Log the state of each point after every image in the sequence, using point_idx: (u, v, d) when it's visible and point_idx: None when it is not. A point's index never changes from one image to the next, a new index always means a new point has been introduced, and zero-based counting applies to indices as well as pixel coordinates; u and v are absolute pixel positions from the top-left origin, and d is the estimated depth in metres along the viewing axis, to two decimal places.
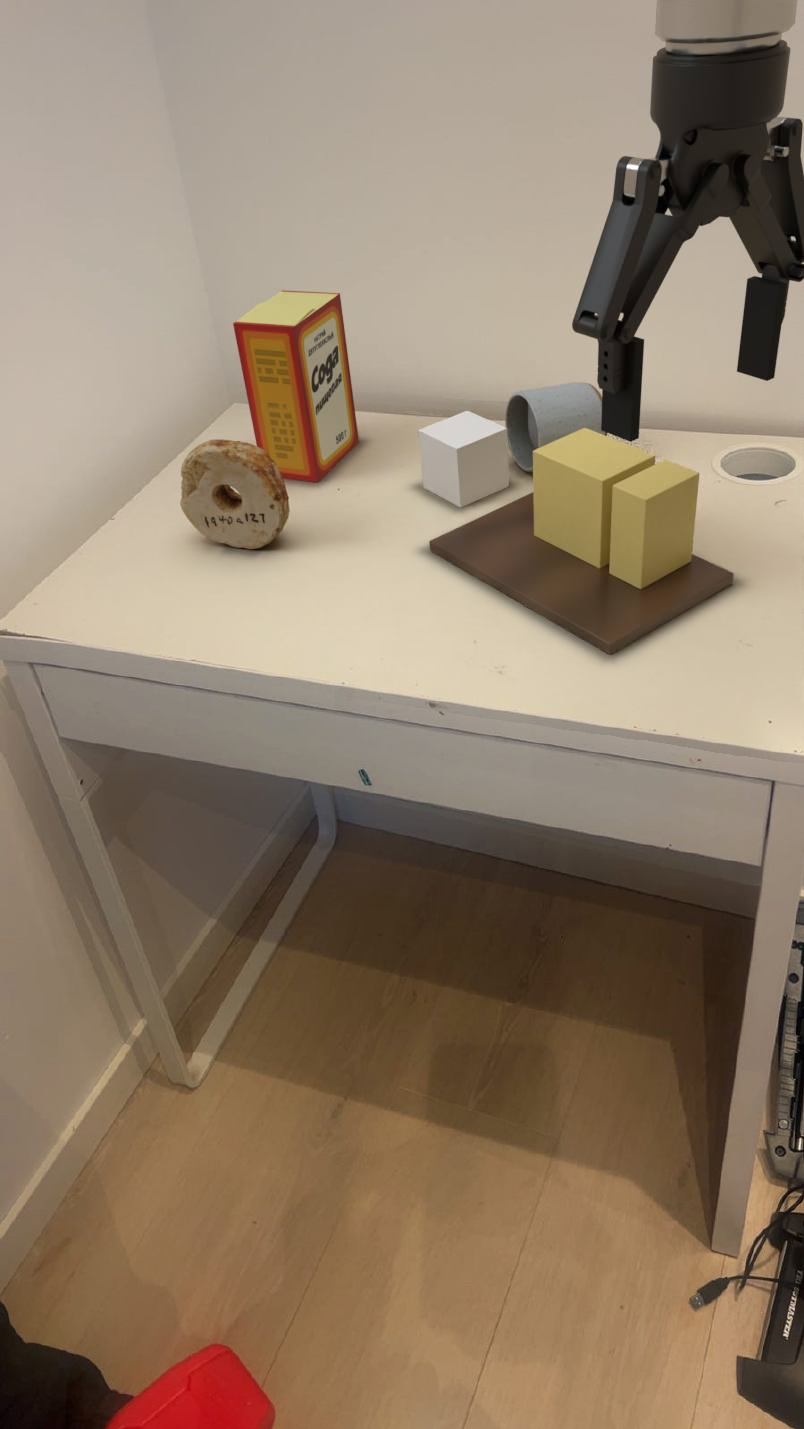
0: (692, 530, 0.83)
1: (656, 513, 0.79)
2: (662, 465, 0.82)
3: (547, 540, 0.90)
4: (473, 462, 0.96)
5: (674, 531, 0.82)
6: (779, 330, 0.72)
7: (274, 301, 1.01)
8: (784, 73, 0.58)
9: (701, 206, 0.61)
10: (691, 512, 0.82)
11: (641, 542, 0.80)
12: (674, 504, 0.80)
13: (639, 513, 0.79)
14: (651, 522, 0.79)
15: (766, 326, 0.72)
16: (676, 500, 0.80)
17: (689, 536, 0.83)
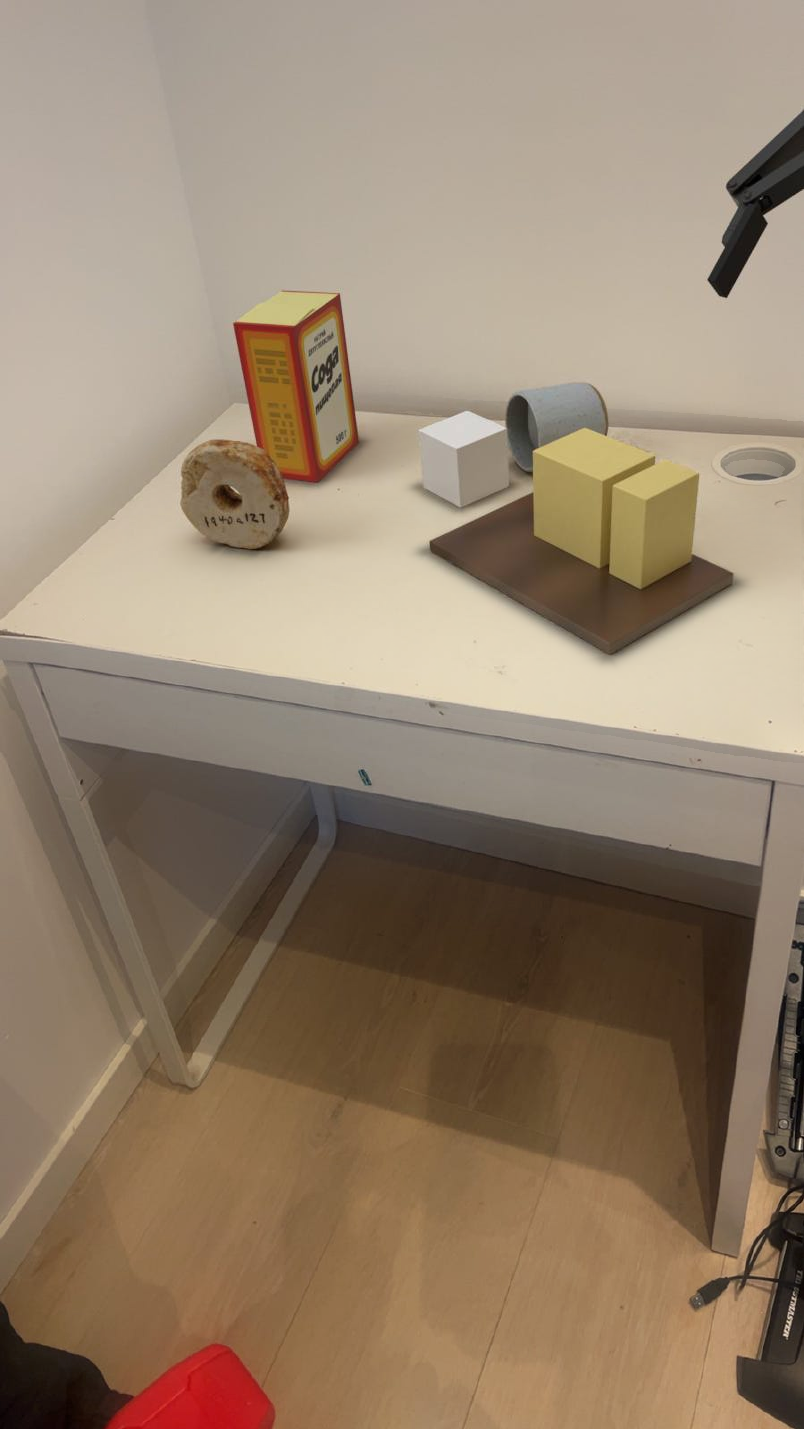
0: (692, 530, 0.83)
1: (656, 513, 0.79)
2: (662, 465, 0.82)
3: (547, 540, 0.90)
4: (473, 462, 0.96)
5: (674, 531, 0.82)
6: None
7: (274, 301, 1.01)
8: None
9: None
10: (691, 512, 0.82)
11: (641, 542, 0.80)
12: (674, 504, 0.80)
13: (639, 513, 0.79)
14: (651, 522, 0.79)
15: None
16: (676, 500, 0.80)
17: (689, 536, 0.83)
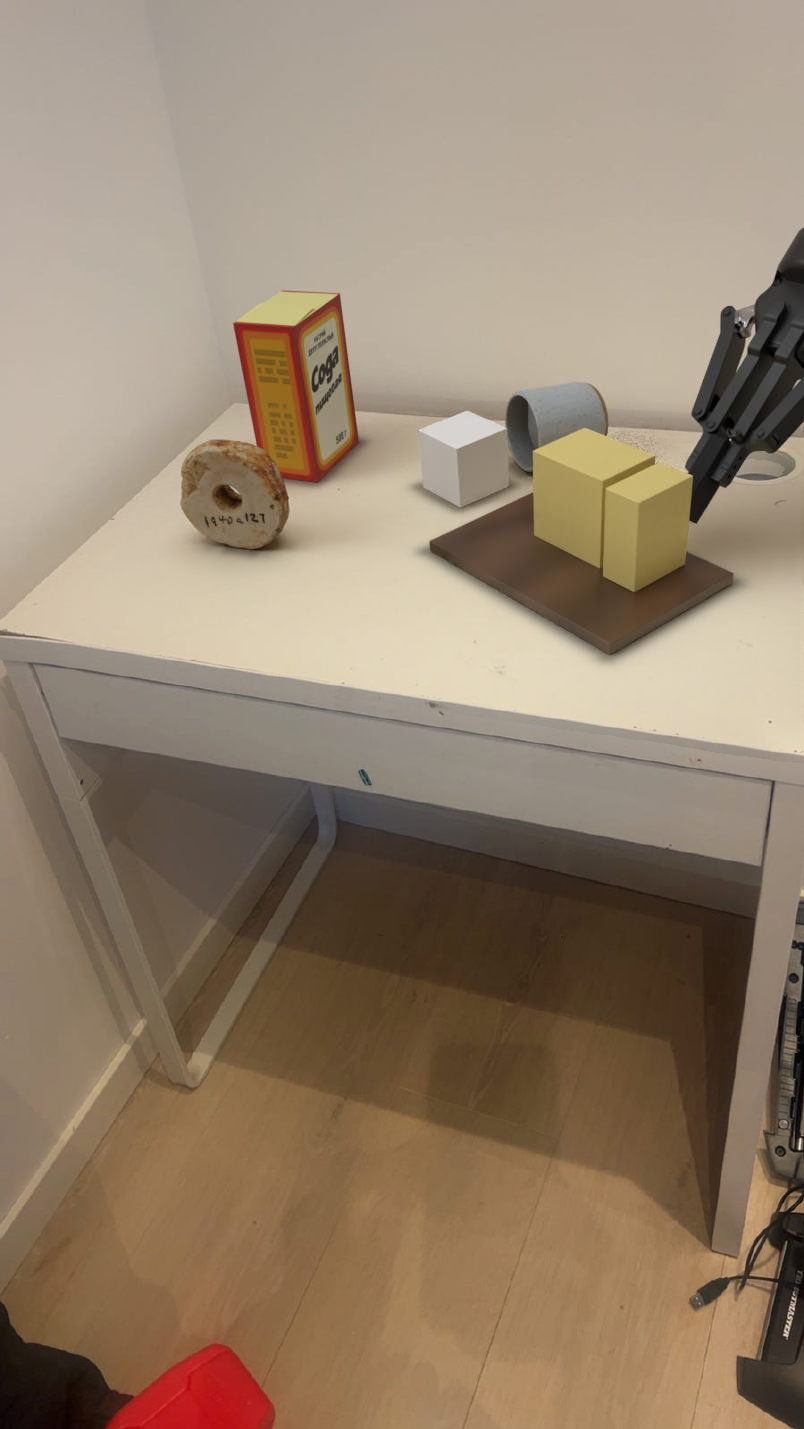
0: (686, 533, 0.83)
1: (649, 516, 0.79)
2: (656, 468, 0.81)
3: (547, 540, 0.90)
4: (473, 462, 0.96)
5: (668, 534, 0.82)
6: (705, 474, 0.83)
7: (274, 301, 1.01)
8: None
9: (763, 330, 0.82)
10: (685, 515, 0.82)
11: (634, 545, 0.80)
12: (668, 507, 0.80)
13: (632, 516, 0.79)
14: (644, 525, 0.79)
15: None
16: (670, 503, 0.80)
17: (683, 539, 0.83)
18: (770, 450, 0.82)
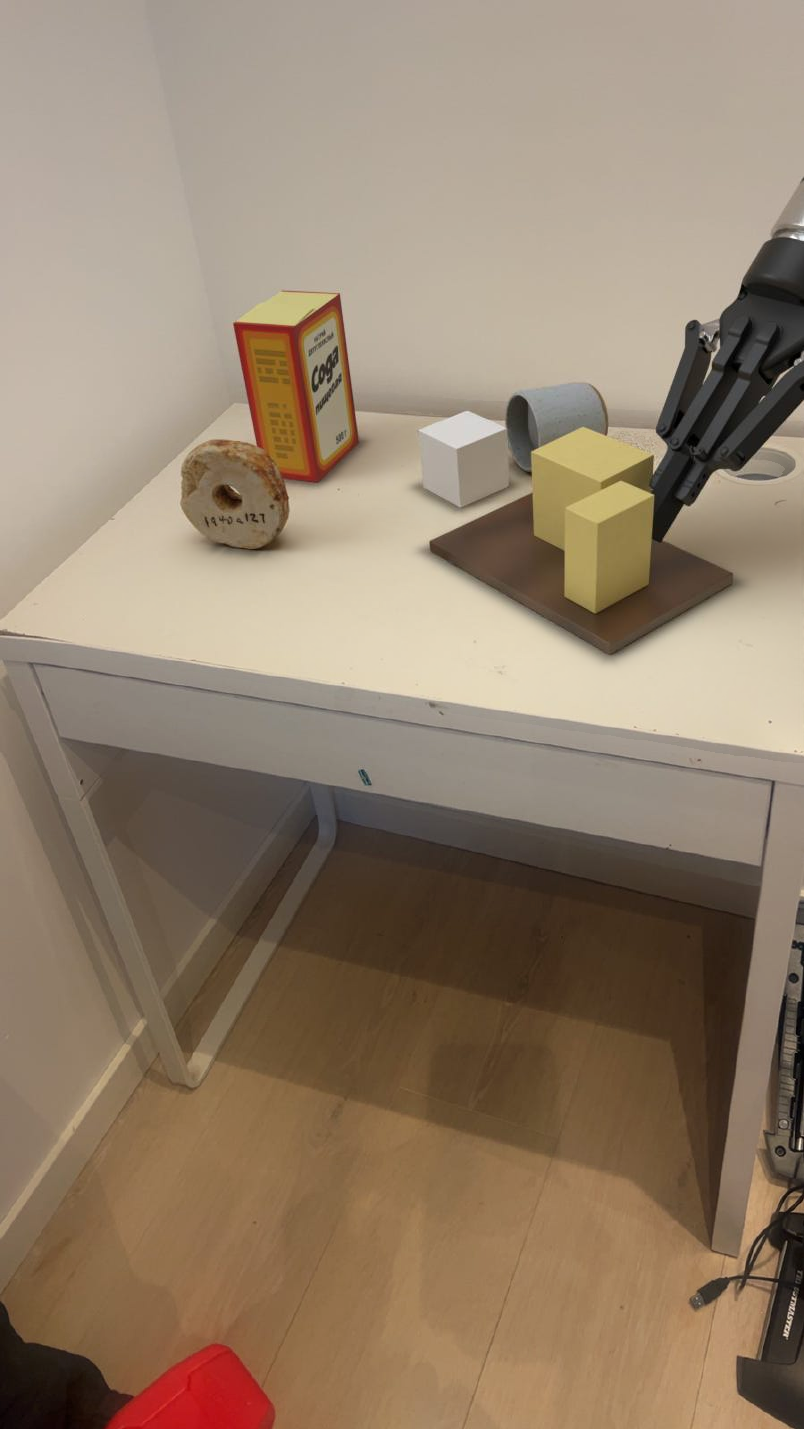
0: (648, 553, 0.81)
1: (609, 537, 0.77)
2: (617, 487, 0.80)
3: (547, 540, 0.90)
4: (473, 462, 0.96)
5: (629, 555, 0.80)
6: (668, 493, 0.81)
7: (274, 301, 1.01)
8: (797, 257, 0.76)
9: (728, 345, 0.80)
10: (647, 535, 0.80)
11: (594, 566, 0.78)
12: (628, 527, 0.78)
13: (592, 536, 0.77)
14: (604, 546, 0.77)
15: None
16: (631, 523, 0.78)
17: (645, 558, 0.81)
18: (734, 468, 0.80)
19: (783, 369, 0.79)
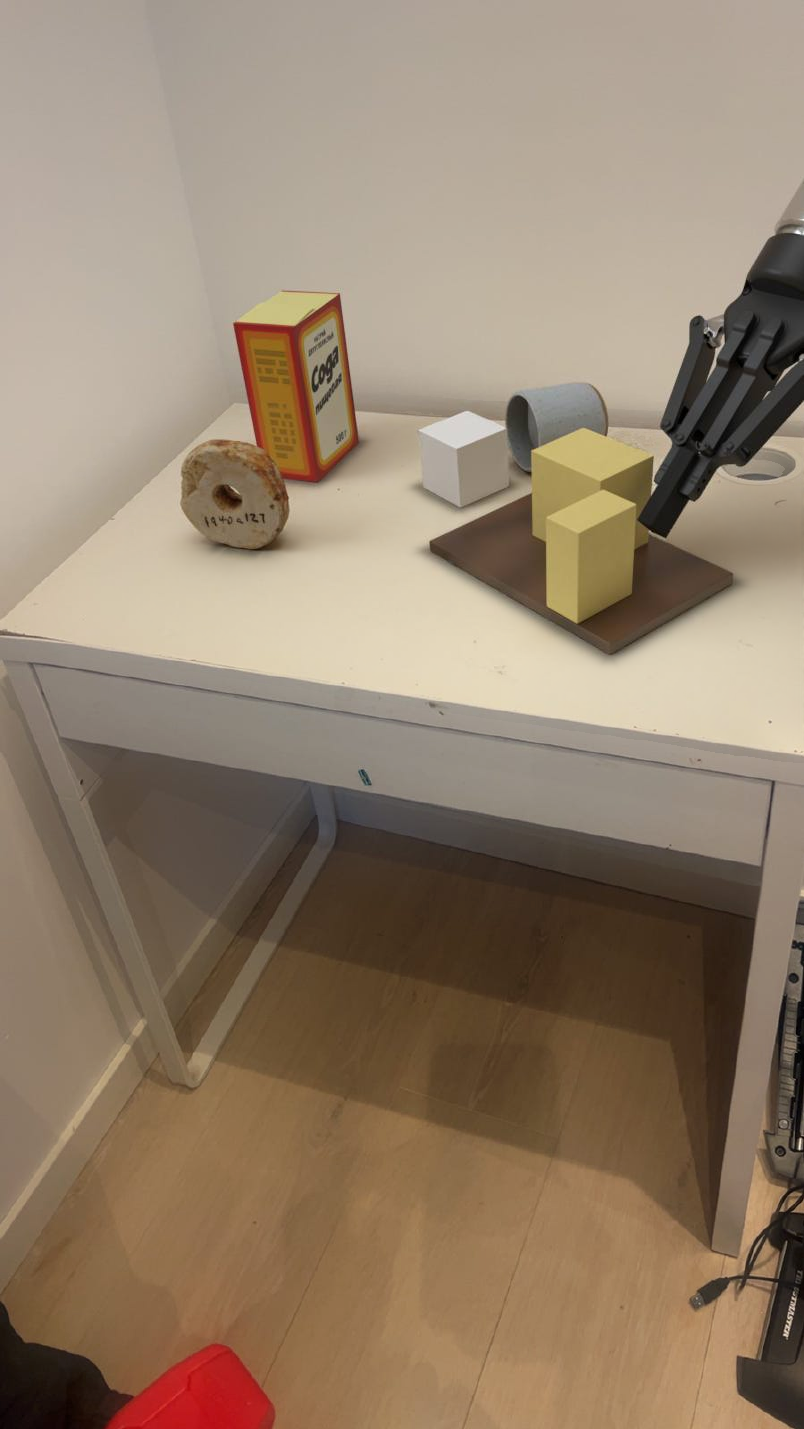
0: (631, 562, 0.80)
1: (590, 547, 0.76)
2: (599, 496, 0.79)
3: (545, 540, 0.90)
4: (473, 462, 0.96)
5: (611, 564, 0.79)
6: (674, 488, 0.81)
7: (274, 301, 1.01)
8: (802, 252, 0.76)
9: (732, 341, 0.80)
10: (629, 544, 0.79)
11: (576, 576, 0.77)
12: (610, 537, 0.77)
13: (573, 546, 0.76)
14: (585, 556, 0.77)
15: None
16: (612, 533, 0.77)
17: (628, 568, 0.81)
18: (739, 463, 0.80)
19: (788, 364, 0.79)
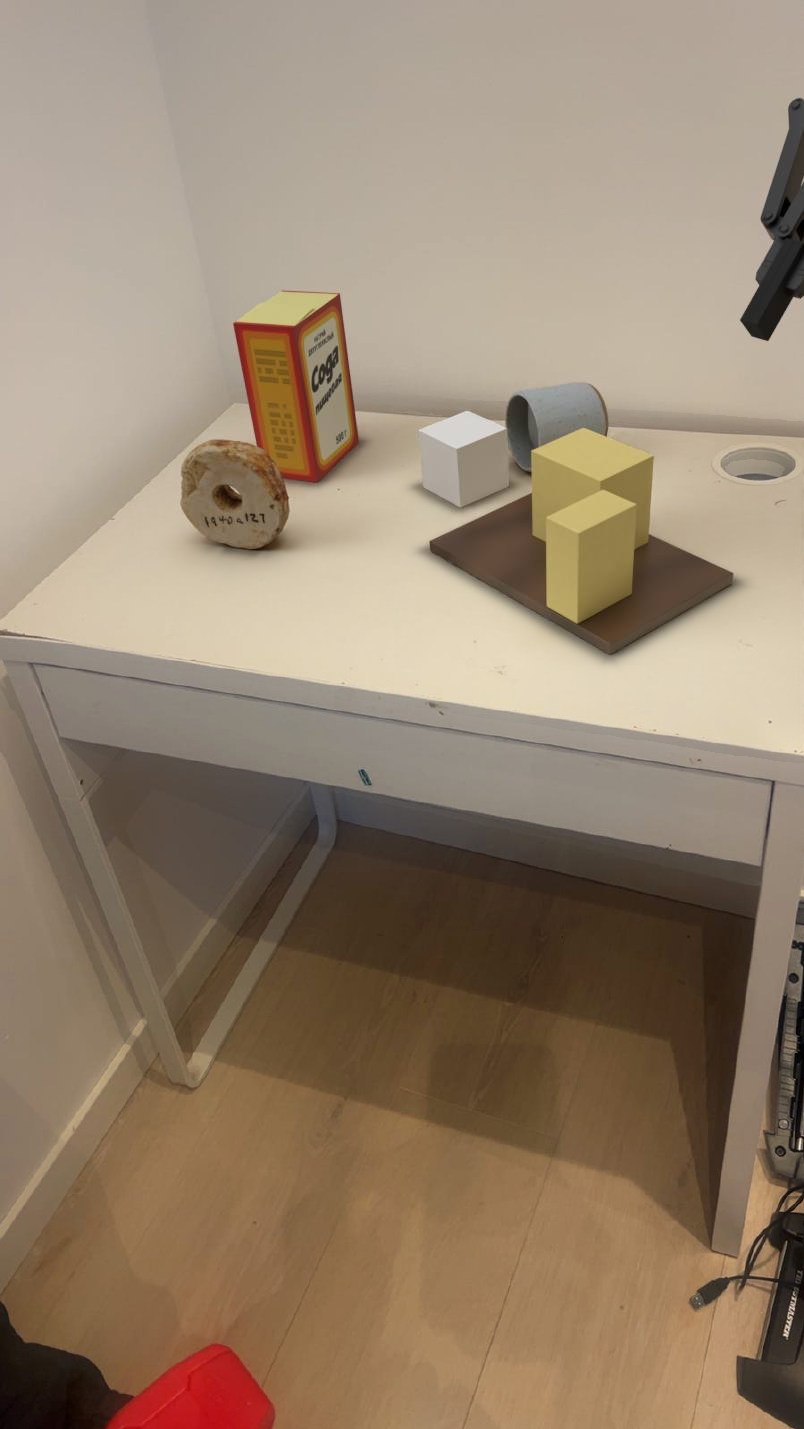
0: (631, 562, 0.80)
1: (590, 547, 0.76)
2: (599, 496, 0.79)
3: (545, 540, 0.90)
4: (473, 462, 0.96)
5: (611, 564, 0.79)
6: (781, 283, 0.76)
7: (274, 301, 1.01)
8: None
9: None
10: (629, 544, 0.79)
11: (576, 576, 0.77)
12: (610, 537, 0.77)
13: (573, 546, 0.76)
14: (585, 556, 0.77)
15: None
16: (612, 533, 0.77)
17: (628, 568, 0.81)
18: None
19: None
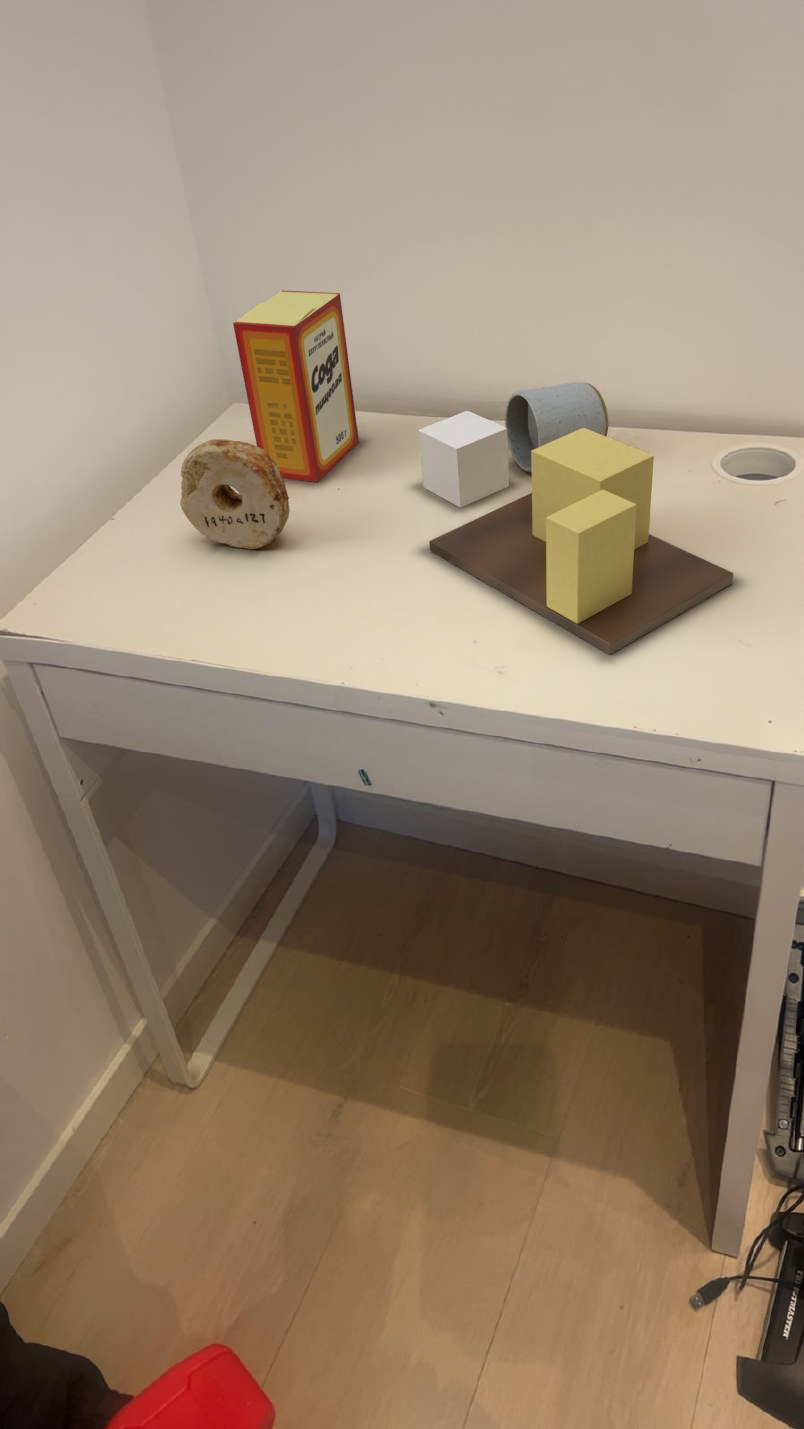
0: (631, 562, 0.80)
1: (590, 547, 0.76)
2: (599, 496, 0.79)
3: (545, 540, 0.90)
4: (473, 462, 0.96)
5: (611, 564, 0.79)
6: None
7: (274, 301, 1.01)
8: None
9: None
10: (629, 544, 0.79)
11: (576, 576, 0.77)
12: (610, 537, 0.77)
13: (573, 546, 0.76)
14: (585, 556, 0.77)
15: None
16: (612, 533, 0.77)
17: (628, 568, 0.81)
18: None
19: None
